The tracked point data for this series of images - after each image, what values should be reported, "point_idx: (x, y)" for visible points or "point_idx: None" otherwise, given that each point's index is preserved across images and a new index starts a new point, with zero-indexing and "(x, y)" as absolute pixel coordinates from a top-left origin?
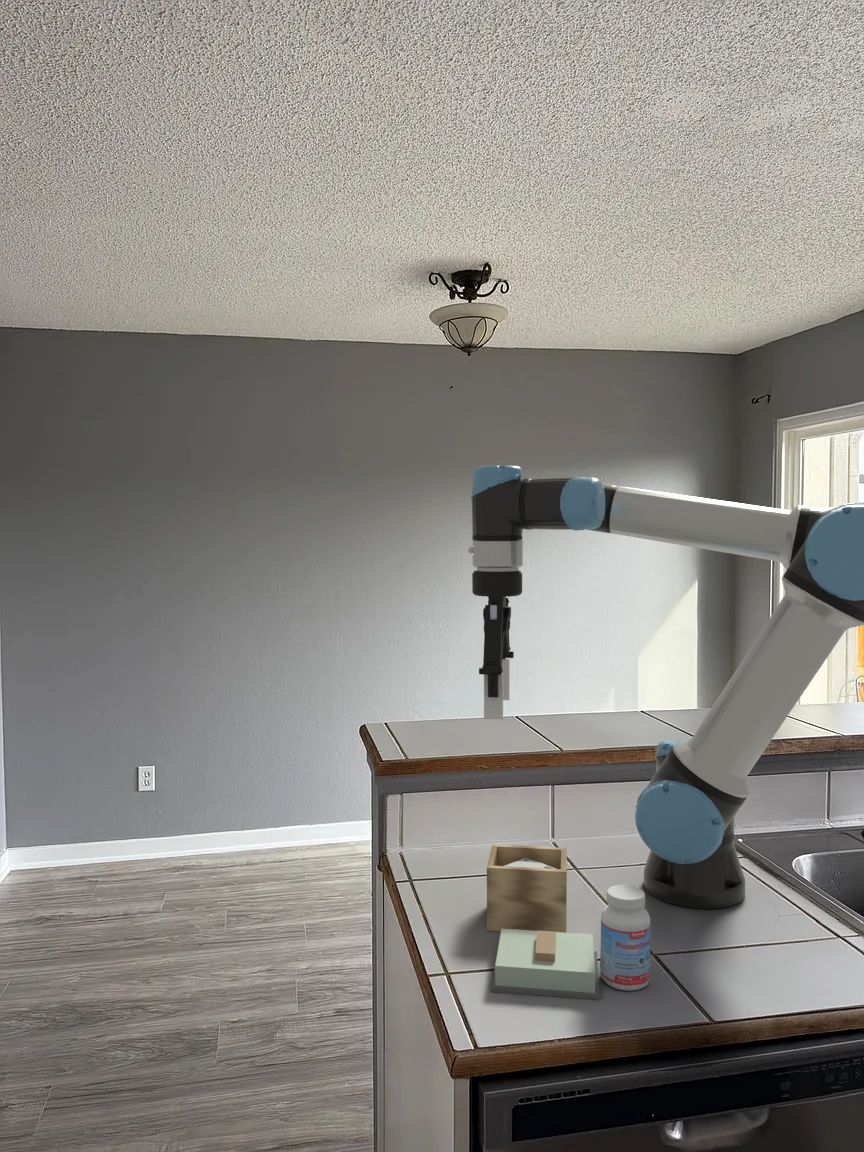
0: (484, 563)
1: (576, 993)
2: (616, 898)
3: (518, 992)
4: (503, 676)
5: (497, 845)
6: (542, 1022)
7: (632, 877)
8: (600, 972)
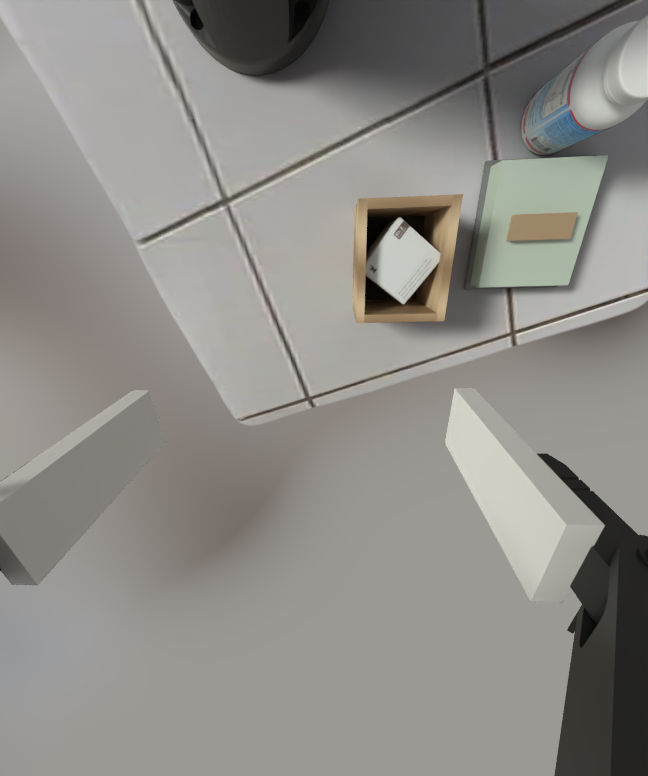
0: None
1: None
2: None
3: None
4: (88, 466)
5: (360, 315)
6: (623, 226)
7: (232, 98)
8: (551, 153)
